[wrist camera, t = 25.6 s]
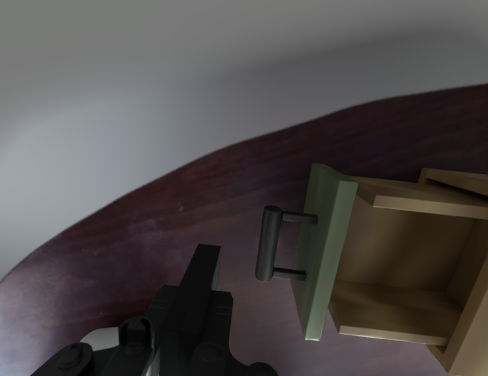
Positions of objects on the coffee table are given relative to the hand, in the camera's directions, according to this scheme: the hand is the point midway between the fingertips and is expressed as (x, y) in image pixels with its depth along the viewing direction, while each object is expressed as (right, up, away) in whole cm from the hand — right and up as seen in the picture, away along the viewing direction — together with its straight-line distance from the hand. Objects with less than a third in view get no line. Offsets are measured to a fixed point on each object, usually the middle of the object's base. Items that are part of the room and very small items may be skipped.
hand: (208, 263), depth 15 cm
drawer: (+13, +1, +7) cm, 15 cm away
